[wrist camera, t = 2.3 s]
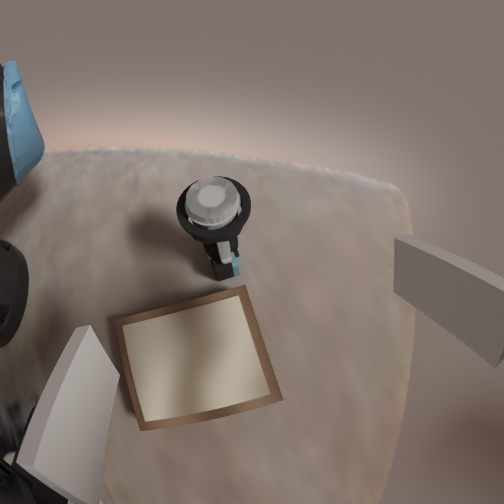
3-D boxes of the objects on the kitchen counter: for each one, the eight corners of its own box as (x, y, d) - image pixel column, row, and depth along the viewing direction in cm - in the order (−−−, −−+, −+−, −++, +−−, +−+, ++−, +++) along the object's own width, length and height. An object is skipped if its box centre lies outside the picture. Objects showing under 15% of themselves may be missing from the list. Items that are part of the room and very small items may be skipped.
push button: (188, 232, 28) (164, 168, 19) (236, 217, 29) (231, 149, 20) (205, 290, 26) (181, 240, 16) (258, 272, 26) (262, 215, 17)
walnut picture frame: (152, 425, 20) (139, 431, 17) (128, 326, 24) (113, 318, 21) (279, 396, 21) (283, 399, 18) (245, 294, 25) (245, 283, 22)
